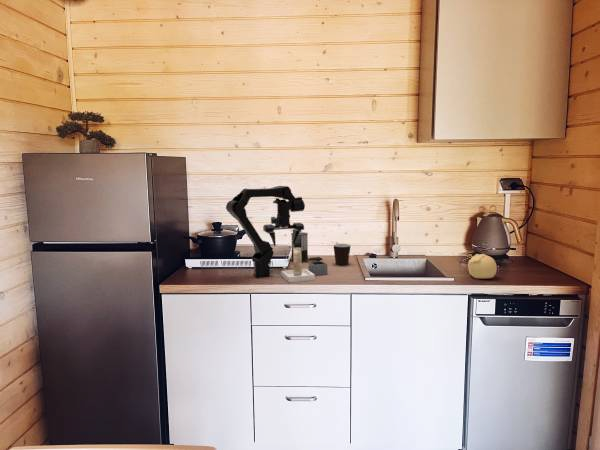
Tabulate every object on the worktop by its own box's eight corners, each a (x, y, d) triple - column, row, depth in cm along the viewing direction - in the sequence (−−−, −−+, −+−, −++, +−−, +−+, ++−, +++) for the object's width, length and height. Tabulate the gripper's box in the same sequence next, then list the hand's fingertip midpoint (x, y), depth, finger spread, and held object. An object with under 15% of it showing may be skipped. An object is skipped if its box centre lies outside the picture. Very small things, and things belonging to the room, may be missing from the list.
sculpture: (468, 273, 208) (469, 250, 206) (497, 276, 202) (498, 252, 201) (465, 279, 198) (466, 255, 196) (494, 282, 192) (496, 257, 191)
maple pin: (295, 277, 200) (294, 249, 198) (292, 275, 203) (292, 247, 201) (302, 276, 201) (302, 248, 199) (300, 275, 204) (299, 247, 203)
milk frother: (290, 259, 241) (289, 232, 239) (318, 257, 244) (318, 231, 242) (293, 265, 228) (293, 236, 225) (324, 263, 230) (323, 235, 228)
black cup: (344, 267, 222) (344, 247, 220) (330, 265, 227) (330, 245, 225) (356, 263, 231) (356, 243, 229) (342, 260, 236) (342, 242, 234)
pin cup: (313, 275, 206) (313, 265, 205) (308, 272, 212) (308, 262, 212) (327, 274, 208) (327, 264, 207) (322, 271, 214) (322, 261, 214)
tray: (289, 282, 195) (288, 277, 194) (281, 276, 206) (281, 270, 206) (314, 280, 199) (314, 274, 198) (306, 273, 210) (305, 268, 209)
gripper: (297, 210, 220) (297, 241, 222) (260, 211, 214) (260, 243, 217) (304, 212, 210) (304, 245, 212) (265, 214, 204) (266, 247, 206)
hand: (284, 245), depth 212 cm, fingers open, 9 cm apart
